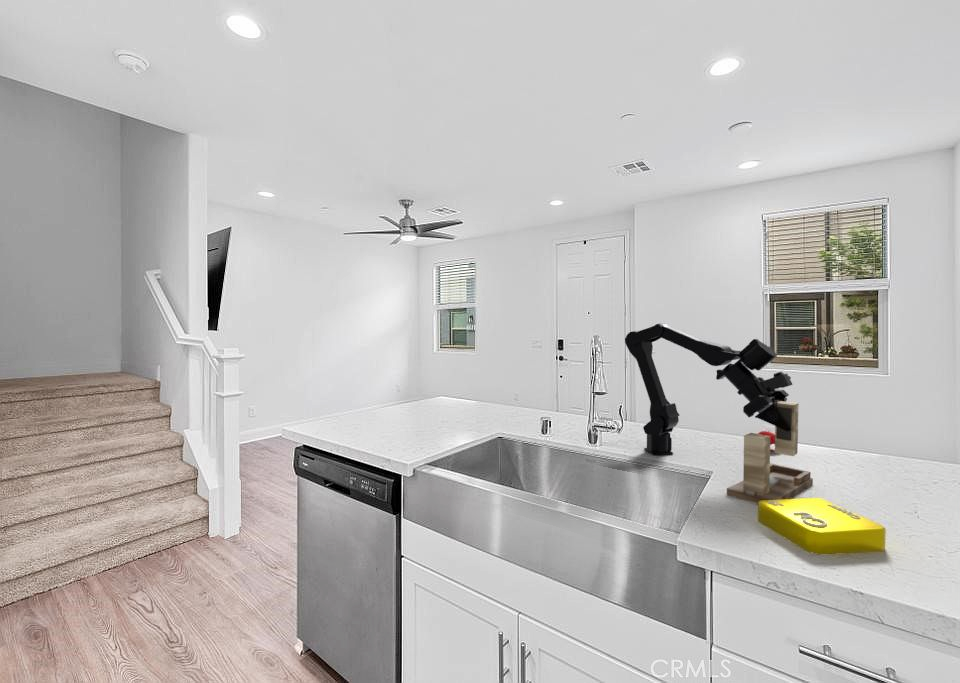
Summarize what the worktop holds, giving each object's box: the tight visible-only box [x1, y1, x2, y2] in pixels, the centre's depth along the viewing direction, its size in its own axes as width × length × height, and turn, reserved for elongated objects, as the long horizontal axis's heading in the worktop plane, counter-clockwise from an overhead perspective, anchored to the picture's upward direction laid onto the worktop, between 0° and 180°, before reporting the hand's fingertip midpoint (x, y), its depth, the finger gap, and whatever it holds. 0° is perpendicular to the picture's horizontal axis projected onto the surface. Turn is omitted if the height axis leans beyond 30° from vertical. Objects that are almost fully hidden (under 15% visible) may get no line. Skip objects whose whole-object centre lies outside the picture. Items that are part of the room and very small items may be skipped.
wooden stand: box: [726, 432, 814, 504], centre depth 109 cm, size 24×10×14 cm, turn 127°
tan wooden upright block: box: [774, 401, 800, 457], centre depth 115 cm, size 5×4×13 cm
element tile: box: [757, 497, 886, 555], centre depth 86 cm, size 15×15×5 cm
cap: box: [757, 430, 775, 446], centre depth 142 cm, size 8×6×6 cm
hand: (792, 428), depth 114 cm, fingers closed on tan wooden upright block, 5 cm apart
